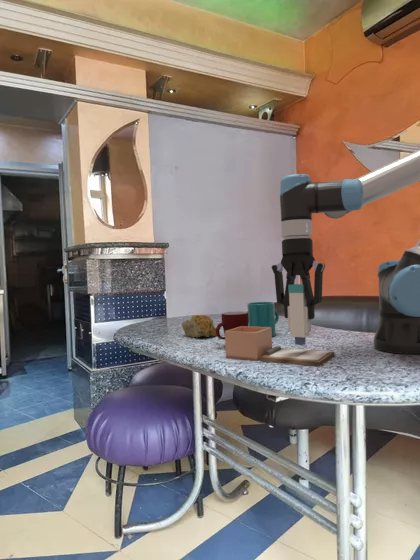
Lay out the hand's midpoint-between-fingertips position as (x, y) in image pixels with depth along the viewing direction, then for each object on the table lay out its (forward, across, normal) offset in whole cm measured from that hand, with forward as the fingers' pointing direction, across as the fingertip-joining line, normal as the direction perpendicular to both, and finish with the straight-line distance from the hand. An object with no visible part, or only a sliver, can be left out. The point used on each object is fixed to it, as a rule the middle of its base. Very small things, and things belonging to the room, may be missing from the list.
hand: (299, 331), depth 103 cm
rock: (+7, +44, -20) cm, 49 cm away
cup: (+7, +23, -28) cm, 37 cm away
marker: (+3, 0, 0) cm, 3 cm away
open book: (+7, +1, 0) cm, 7 cm away
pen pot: (+7, +14, +2) cm, 15 cm away
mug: (+7, +24, -7) cm, 26 cm away
